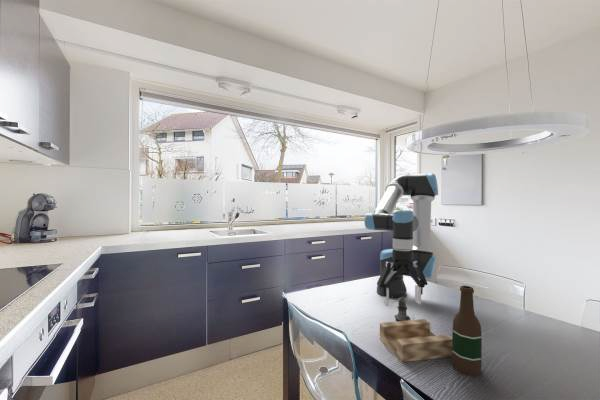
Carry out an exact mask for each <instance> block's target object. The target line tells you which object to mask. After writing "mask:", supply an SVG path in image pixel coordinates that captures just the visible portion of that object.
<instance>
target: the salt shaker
mask: <svg viewBox="0 0 600 400" xmlns="http://www.w3.org/2000/svg"><path fill="white" fill-rule="evenodd" d="M397 309H398V311H397V314H395V315H394V318H395V322H396V321H408V320H411V317H410V316H409V315H408V314H407V310H408V307H407V299H405V297H403V296H402V298H398V305H397Z"/></svg>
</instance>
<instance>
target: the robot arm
mask: <svg viewBox="0 0 600 400" xmlns="http://www.w3.org/2000/svg"><path fill="white" fill-rule="evenodd" d="M438 195H439V187H438V179H437V176H436V174H435V173H426V172H424V173H410V174H409V173H407V174H401V175H398V176H396V177H395V178H393V179H391V180H390V181H389V182H388V183H387V184H386V186H385V188H384V193H383V196H382V198H381V199H380V201H379V202H378V204H377V206H376V208H375V210H374V212H370V213H369V212H367V213H366V214H365V216H364V227H365V228H366V229H367V230H371V231H372V230H373V231H386V232H392V248H387V249H383V250H382V251H380V255H379V256H380V258H379V278H378V280H377V283H376V285H377V287H376V293H377V294H378V295H380V296H382V297H383V305H385V306H386V307H389V306H390V304H389V303H390V300H389V299H390V298H391V299H400V298H402V296H403V298H406V297H407V296H408V295H407V294H408V292H407V287H406V284H405V280H404V276H405V277H411V279H412V280H413V281H414V283H415V284H416V285H414V302H415V303H416V304H418V305H421V304H422V295H423V293H424V292H423V291H424V290H423V288H425V287H426V286H427V285H428V281H427V280H430V279H432V278H433V276H434V274H435V271H436V265H437V256H436V255H435V254H434V251H433V250H432V249H431V248H430V247H431V246H430V245H431V225H432V224H431V223H432V221H431V219H432V202H433V201H434V200H435V199H436V196H438ZM403 196H410V199H411V201H412V203H413V204H412V210H411V209H410V210H409V209H406V210H405V209H395V208H396V206H397V204H398V201H399V199H401V198H402V197H403Z"/></svg>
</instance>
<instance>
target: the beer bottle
mask: <svg viewBox="0 0 600 400" xmlns="http://www.w3.org/2000/svg"><path fill="white" fill-rule="evenodd" d="M459 291H460V302H459V308H458V309H459V310H458V312H457V313H456V314H455V316H454V318H453V319H452V331H451V333H452V336H451V337H452V356H451V360H452V366H453V368H455V369H456V370H457V371H458V372H460V374H464V375H467V376H471V377H474V376H475V377H476V376H481V374H482V361H483V360H482V353H483V352H482V351H483V349H482V346H483V345H482V343H483V342H482V341H483V340H482V338H483V337H482V327H481V323H480V321H479V319H478V318H477V316H476V315H475V308H474V293H475V291H474V288H473V286H469V285H460V288H459Z"/></svg>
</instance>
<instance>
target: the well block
mask: <svg viewBox="0 0 600 400" xmlns="http://www.w3.org/2000/svg"><path fill="white" fill-rule="evenodd" d="M379 339H380V340H381V342H382V343H384V345H386V347H387V348H388V349H389V350H390V351H391V352H392V353H393V354H394V356H395V357H396V358H397V359H398V360H399V361H400V362H401V363H405V362H406V363H407V362H414V361H415V362H416V361H423V360H433V359H441V358H442V359H443V358H449V357H450V358H452V336H450V335H449V334H441V335H437V334H435V333H434V332H432V331H431V322H430V321H428V320H427V319H426V318H422V319H410V320H408V321H396V320H395V321H387V322H379Z"/></svg>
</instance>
